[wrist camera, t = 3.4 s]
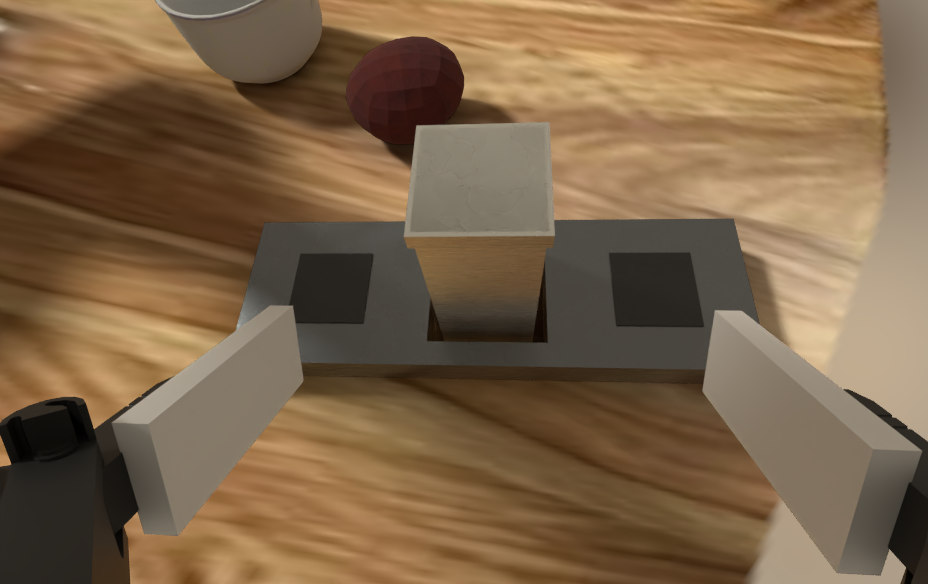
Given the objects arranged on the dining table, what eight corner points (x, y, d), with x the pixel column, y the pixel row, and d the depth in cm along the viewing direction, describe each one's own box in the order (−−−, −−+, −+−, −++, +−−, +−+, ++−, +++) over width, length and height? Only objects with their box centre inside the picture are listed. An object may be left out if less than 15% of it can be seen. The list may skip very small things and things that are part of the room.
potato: (470, 158, 34) (463, 89, 29) (356, 167, 35) (329, 101, 29) (465, 85, 38) (459, 11, 32) (361, 95, 38) (337, 23, 33)
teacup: (360, 53, 40) (329, -50, 33) (253, 126, 37) (194, 30, 30) (267, -11, 45) (223, -113, 38) (167, 49, 42) (99, -49, 35)
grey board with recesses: (249, 374, 28) (226, 360, 26) (281, 243, 32) (263, 221, 30) (747, 384, 26) (772, 370, 24) (716, 241, 30) (734, 217, 28)
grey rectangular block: (442, 348, 28) (404, 236, 17) (447, 267, 30) (416, 125, 20) (535, 349, 28) (554, 236, 17) (533, 267, 30) (549, 122, 19)
